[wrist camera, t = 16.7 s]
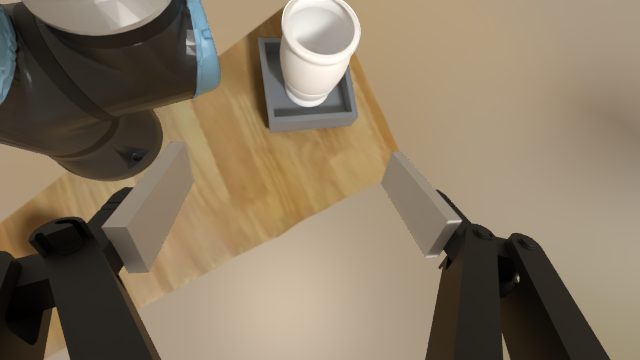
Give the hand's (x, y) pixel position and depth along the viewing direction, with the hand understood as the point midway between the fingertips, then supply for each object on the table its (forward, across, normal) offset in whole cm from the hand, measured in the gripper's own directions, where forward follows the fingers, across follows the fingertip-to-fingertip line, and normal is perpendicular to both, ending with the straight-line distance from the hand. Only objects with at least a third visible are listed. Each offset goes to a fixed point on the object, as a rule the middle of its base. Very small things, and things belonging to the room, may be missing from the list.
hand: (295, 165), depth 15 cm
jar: (+33, +4, -3) cm, 34 cm away
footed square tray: (+36, +4, -5) cm, 36 cm away
